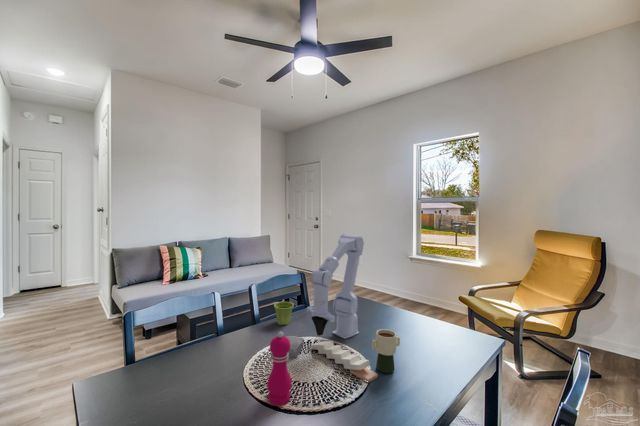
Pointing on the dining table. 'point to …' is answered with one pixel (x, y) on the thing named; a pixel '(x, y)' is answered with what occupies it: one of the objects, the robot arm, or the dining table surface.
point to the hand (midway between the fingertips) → (319, 334)
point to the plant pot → (283, 312)
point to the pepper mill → (279, 371)
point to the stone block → (295, 346)
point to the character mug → (385, 349)
